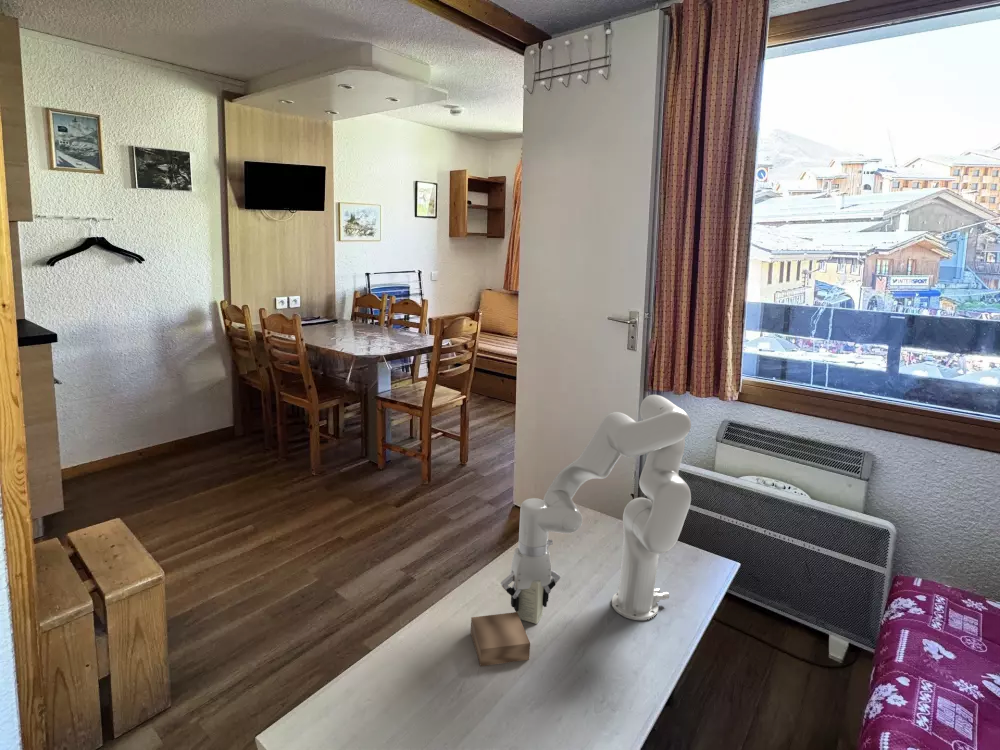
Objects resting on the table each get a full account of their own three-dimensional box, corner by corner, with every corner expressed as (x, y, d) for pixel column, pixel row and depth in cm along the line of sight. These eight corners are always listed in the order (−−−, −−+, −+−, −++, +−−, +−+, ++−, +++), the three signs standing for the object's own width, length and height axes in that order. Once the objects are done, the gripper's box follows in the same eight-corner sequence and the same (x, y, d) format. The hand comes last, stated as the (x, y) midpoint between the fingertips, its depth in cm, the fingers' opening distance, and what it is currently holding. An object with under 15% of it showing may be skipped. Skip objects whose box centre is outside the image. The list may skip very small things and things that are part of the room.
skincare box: (542, 615, 164) (545, 575, 161) (536, 625, 160) (539, 583, 157) (520, 608, 167) (523, 568, 164) (514, 617, 163) (516, 576, 160)
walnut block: (516, 628, 159) (517, 612, 158) (529, 660, 148) (530, 643, 147) (470, 634, 156) (471, 617, 155) (480, 667, 145) (481, 649, 144)
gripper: (558, 535, 164) (554, 593, 169) (496, 542, 159) (493, 602, 164) (569, 549, 157) (565, 609, 162) (505, 558, 152) (502, 620, 157)
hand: (529, 605), depth 163 cm, fingers closed on skincare box, 7 cm apart
